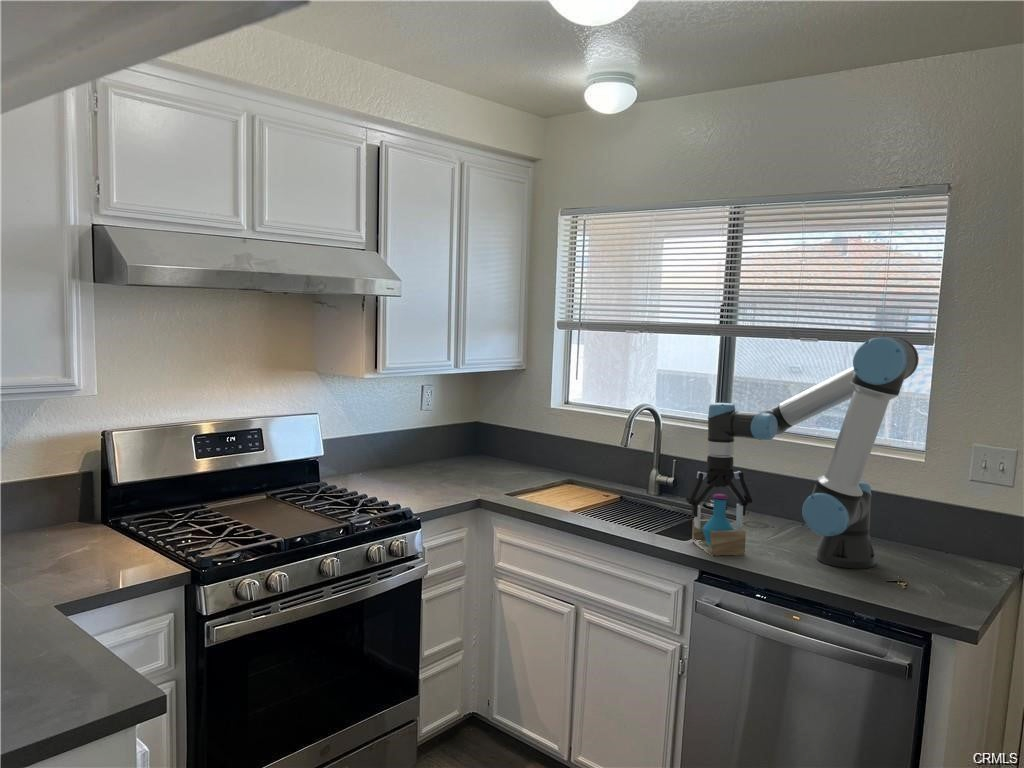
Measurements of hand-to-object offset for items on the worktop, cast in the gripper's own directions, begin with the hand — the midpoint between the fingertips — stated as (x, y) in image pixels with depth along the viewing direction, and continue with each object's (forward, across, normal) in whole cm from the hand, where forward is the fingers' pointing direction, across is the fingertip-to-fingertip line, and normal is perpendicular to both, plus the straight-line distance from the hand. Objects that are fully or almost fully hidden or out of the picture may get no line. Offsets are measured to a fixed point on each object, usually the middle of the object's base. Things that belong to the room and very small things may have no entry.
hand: (718, 527), depth 224 cm
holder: (+7, 0, 0) cm, 7 cm away
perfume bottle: (+6, 0, 0) cm, 6 cm away
